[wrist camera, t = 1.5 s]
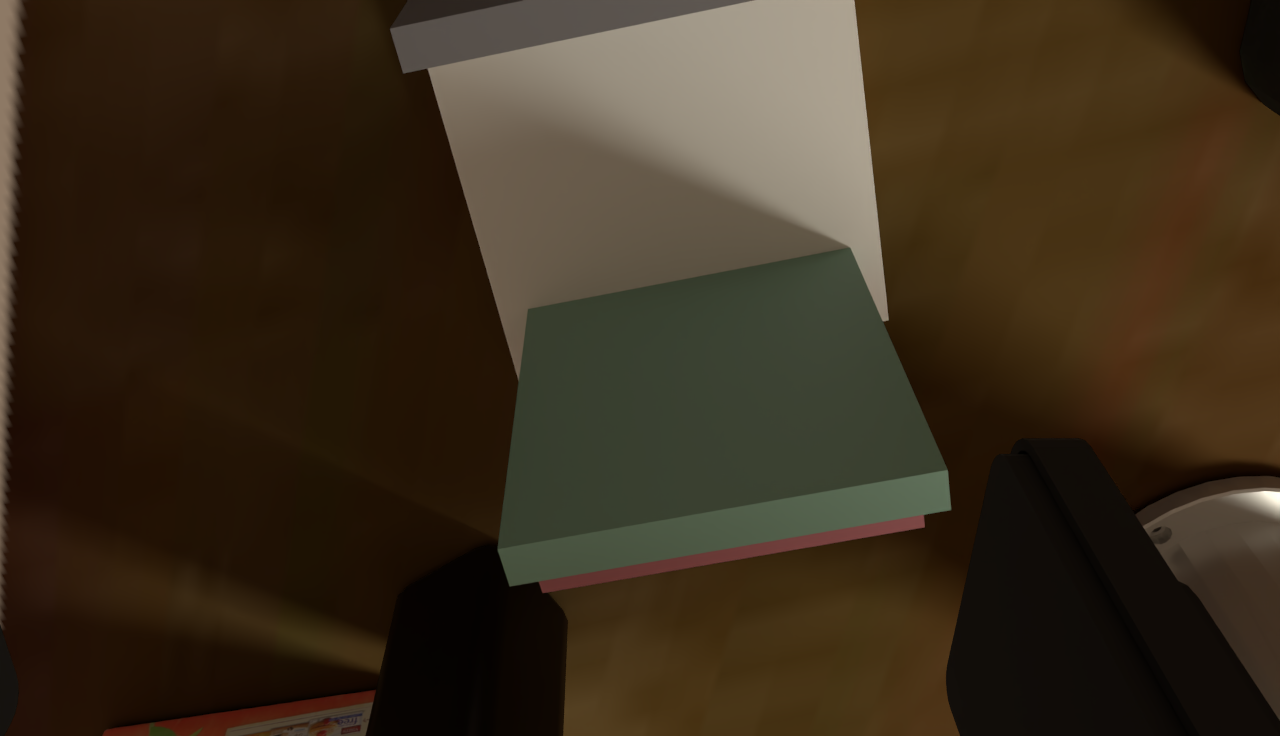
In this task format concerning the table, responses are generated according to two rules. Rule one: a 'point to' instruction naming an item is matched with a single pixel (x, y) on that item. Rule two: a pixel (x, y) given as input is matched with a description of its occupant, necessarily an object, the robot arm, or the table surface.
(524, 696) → the wine bottle
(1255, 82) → the sushi
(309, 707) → the cracker box
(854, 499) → the shelf
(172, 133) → the table surface
